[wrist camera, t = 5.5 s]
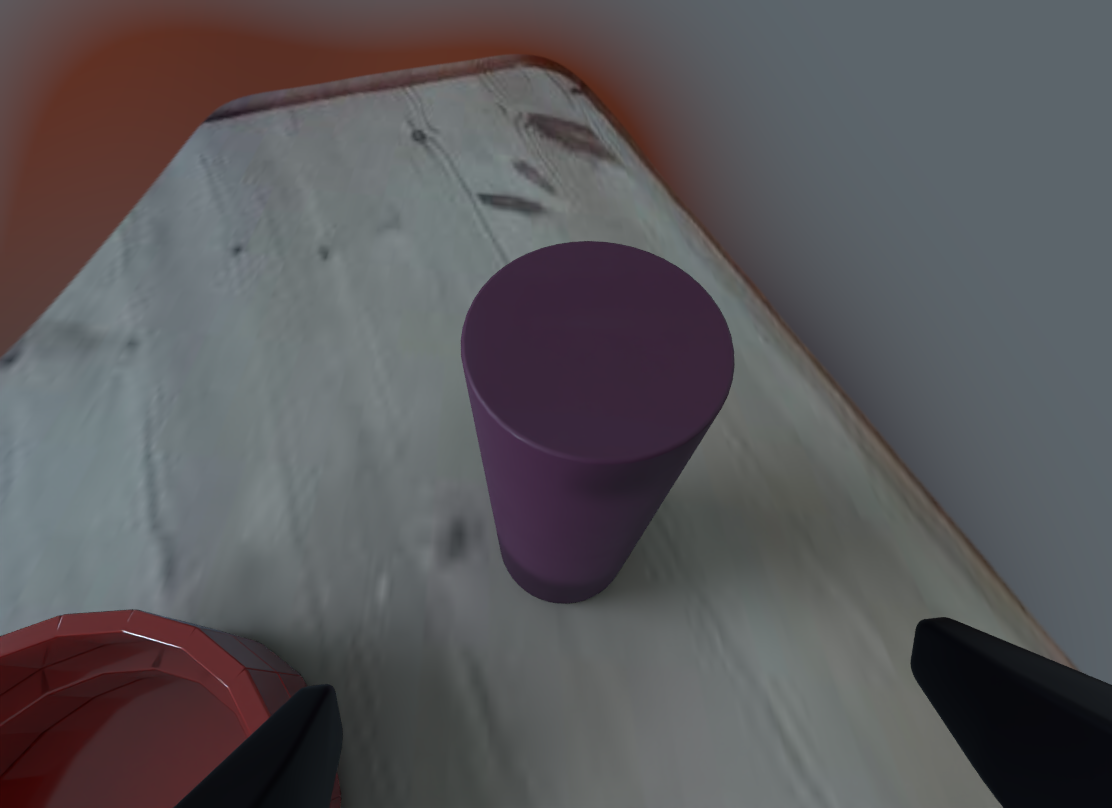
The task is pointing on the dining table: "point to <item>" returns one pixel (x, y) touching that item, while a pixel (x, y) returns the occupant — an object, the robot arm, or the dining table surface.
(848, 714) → the dining table surface
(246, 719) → the bowl
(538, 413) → the canister
